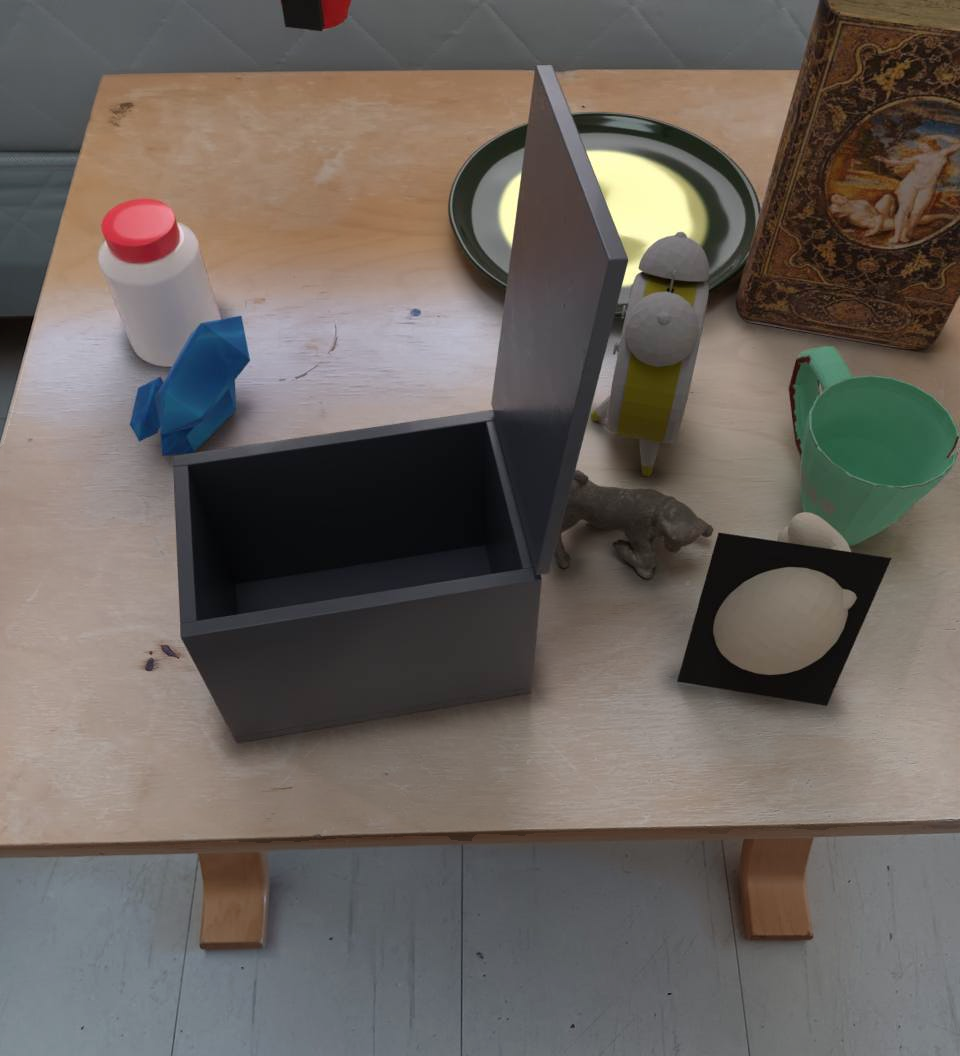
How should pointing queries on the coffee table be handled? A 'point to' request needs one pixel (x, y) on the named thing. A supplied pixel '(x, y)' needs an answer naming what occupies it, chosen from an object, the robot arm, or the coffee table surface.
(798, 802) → the coffee table surface
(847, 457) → the mug
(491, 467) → the dark grey storage box
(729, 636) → the decorative object
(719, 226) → the plate
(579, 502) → the dog figurine
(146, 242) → the pill bottle
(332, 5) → the beverage can
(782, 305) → the book
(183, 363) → the crystal
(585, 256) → the dark grey box lid
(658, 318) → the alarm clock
